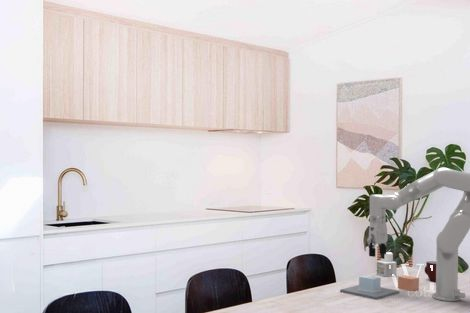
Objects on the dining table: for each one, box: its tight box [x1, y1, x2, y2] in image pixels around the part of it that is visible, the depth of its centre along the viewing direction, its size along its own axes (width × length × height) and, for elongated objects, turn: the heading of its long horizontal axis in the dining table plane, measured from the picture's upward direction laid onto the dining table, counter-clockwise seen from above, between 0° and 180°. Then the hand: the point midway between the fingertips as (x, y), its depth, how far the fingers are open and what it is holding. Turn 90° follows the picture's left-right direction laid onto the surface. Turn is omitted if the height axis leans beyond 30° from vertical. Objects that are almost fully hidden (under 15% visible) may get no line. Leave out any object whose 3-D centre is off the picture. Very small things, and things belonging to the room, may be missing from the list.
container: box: [376, 251, 398, 278], centre depth 327 cm, size 8×8×13 cm
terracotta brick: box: [397, 274, 420, 292], centre depth 293 cm, size 8×6×6 cm
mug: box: [424, 260, 436, 283], centre depth 314 cm, size 11×8×10 cm
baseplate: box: [339, 284, 400, 301], centre depth 284 cm, size 20×20×1 cm
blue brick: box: [358, 275, 381, 292], centre depth 284 cm, size 8×6×6 cm
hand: (377, 255), depth 285 cm, fingers open, 9 cm apart
